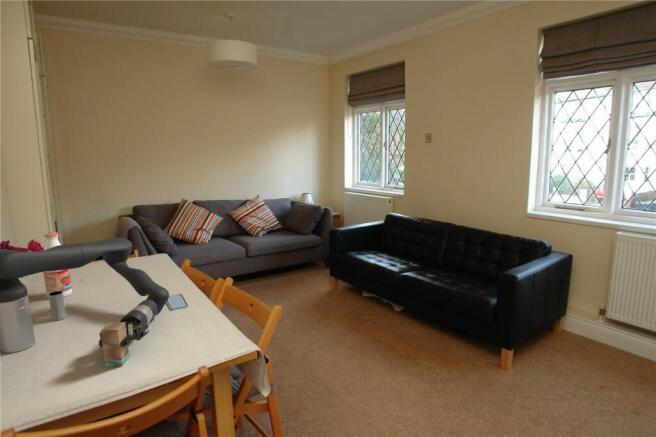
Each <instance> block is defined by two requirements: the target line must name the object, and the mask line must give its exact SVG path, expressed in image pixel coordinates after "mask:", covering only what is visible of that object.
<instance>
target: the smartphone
mask: <svg viewBox="0 0 656 437" xmlns="http://www.w3.org/2000/svg"><path fill="white" fill-rule="evenodd" d="M166 305H167V307H168V309H169V310H170V312H171V311H177V310H182V308H183V309H187V308H189V307H190V305H189V304H188V302H187V301H186V299H185V297H184V295H183V294H182V293H178V294H174V295H169V298H168V300H167V302H166ZM186 307H187V308H186Z"/></svg>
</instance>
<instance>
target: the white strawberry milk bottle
mask: <svg viewBox="0 0 656 437" xmlns="http://www.w3.org/2000/svg"><path fill="white" fill-rule="evenodd" d="M44 239H45V244H44V247H43V249H44V250H47V249H49V248H52V247H55V246H58V245H62V244H61V243H60V241H59V233H58V232H55V231H54V232H46V233H44ZM42 273H43V279H44V286H45V292H46V296H47V298H48V299H49V296H48V294H49V293H51V292H55V291H62V292H63V298H64V297H68V296H69V295H71V294H72V293H73V286H72V280H71V279H72V278H71V274H70V269H68V270H59V271H47V272H42Z"/></svg>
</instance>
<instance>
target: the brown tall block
mask: <svg viewBox="0 0 656 437" xmlns="http://www.w3.org/2000/svg"><path fill="white" fill-rule="evenodd" d="M100 332H101V338H102V345H103V347H102V352H103V360H104V365H105V367H106V368H115V367H118V368H119V367H124V365H125V364H126V362H127V361H128V360H129V359H130V352H129V345H127V346H126V347H122V340H123V339H124V338H125V337H126V336H127V333H126V325H125V322H120V321H119V322H108V323H107V324H106V325H105V326H103V327H102V328H101V330H100Z"/></svg>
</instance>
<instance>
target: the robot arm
mask: <svg viewBox="0 0 656 437" xmlns="http://www.w3.org/2000/svg"><path fill="white" fill-rule="evenodd" d="M42 250H43V249H42ZM42 250H35V251H32V250H31V251H26V250H24V251H22V250H20V251H19V250H14V249H13V250H11V249H7V248H6V249H5V248H0V352H2V353H4V354H10V353H13V354H14V353H17V352H20V351H25V350H26V349H28V348H29V349H30V348H31V347H33V346H34V345H36V337H35V331H34V330H35V329H34V323H33V317H32V312H31V311H32V310H31V305H30V298H29V293H28V287H27V286H26V285H25V284H24V283H23V282H21V280H20V278H23V277H27V276H31V275H35V274H39V273H43V272H47V271H59V270H68V269H69V270H73V269H79V268H83V267H85V266H87V265H89V264H90V263H91V262H93V261H95V260H97V259H99V258H100V257H102V258H103V261H104V263H106V265H108V266H109V267H110V268H112V270H114V271H115V272H116V273H118V274H119V275H120V276H121V277H122V278H123V279H125V280H126V281H127V282H128V283H129V285H130V286H131V287H132V288H133V289H134V290H135V293H137V294H138V295H139V296H141V297H146V296H147V297H146V299H144V300H142V301H141V302H140V303H138V304H137V305H136V306H135V307H133V308H132V309H130V310H129V311H128V312H127V313H126V314H125V315H124V316H123V317H121V319H120V321H119V322H125V325H126V333H127V336H126V337H125V338H124V339H123V340H122V347H126V346H127V345H128V346H129V345H130V344H131V343H132V342H134V341H135V340H136V341H141V340H142V339H143V338H144V337H145V336H146V335H147V334H148V333H150V330H149V323H150V322H151V320H152V319H153V318H154V317H157V316H158V315H159V314H160V313H161V312H162V311H163V309H164V307H165V305H167V303H166V302H167V300H168V298H169V296H170V292H169V290H167V289H166V288H165V287H163V286H161V285H160V284H158V283H157V282H155V281H154V280H153V279H152V278H151V277H150V276H149V274H148V273H147V272H146V271H144V270H143V269H140V268H135V267H134V268H133V267H130V266H128V263H127V261H128V259H129V257H130V255H131V253H132V251H133V242H132V241H131V240H129V239H127V238H123V237H112V238H105V239H102V240H97V241H89V242H81V243H80V242H79V243H66V244H61V245H58V246H55V247H52V248H49V249H47V250H43V251H42ZM98 346H99V348H103V345H102V338H101V331H99V340H98Z"/></svg>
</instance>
